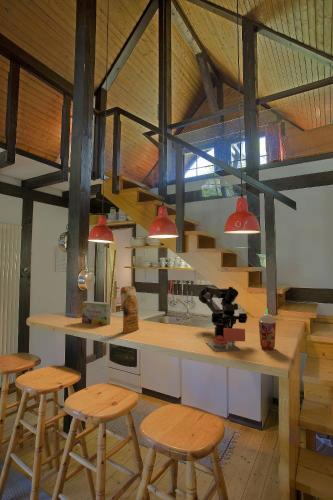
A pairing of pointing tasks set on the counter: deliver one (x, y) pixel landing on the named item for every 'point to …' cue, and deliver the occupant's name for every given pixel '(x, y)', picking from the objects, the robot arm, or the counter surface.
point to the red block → (230, 335)
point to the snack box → (96, 313)
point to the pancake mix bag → (129, 309)
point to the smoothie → (267, 331)
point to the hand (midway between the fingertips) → (230, 331)
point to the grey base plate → (223, 346)
